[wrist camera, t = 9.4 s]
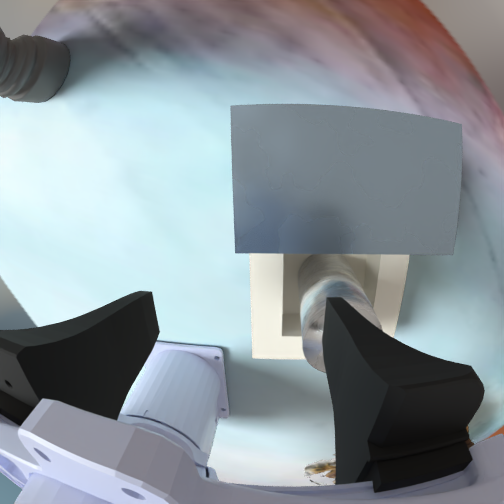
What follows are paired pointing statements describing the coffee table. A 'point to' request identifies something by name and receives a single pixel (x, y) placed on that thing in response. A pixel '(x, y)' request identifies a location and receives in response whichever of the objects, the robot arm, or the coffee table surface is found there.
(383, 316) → the socket block
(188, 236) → the coffee table surface
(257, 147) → the grey arch block
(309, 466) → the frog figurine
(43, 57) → the candle holder
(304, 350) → the peg
